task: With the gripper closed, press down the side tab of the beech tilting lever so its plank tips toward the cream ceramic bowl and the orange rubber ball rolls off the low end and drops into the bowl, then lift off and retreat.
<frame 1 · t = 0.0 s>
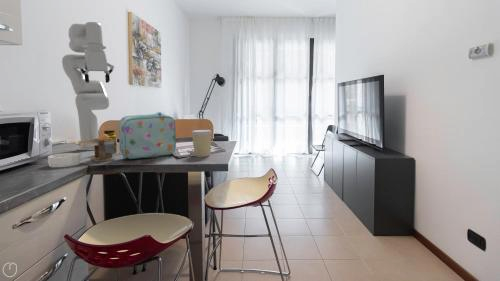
hand: (97, 82, 183), 37 cm above the worktop, tool pointing down, fingers open, 9 cm apart
lunch box: (150, 157, 175), on the worktop
coffee cup: (202, 155, 175), on the worktop
condiment: (109, 153, 190), on the worktop
ball: (105, 141, 169), point 8 cm above the worktop, touching lever
lever: (92, 145, 171), point 6 cm above the worktop, hinge at 0.0°, touching ball
bowl: (65, 164, 159), on the worktop
stand: (100, 160, 169), on the worktop
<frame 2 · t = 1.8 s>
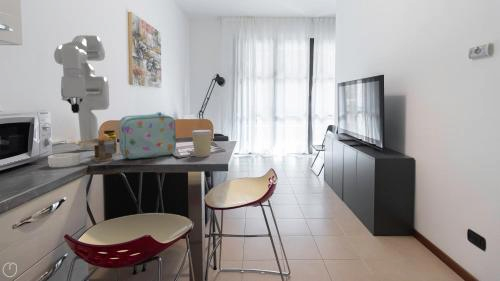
hand: (75, 112, 170), 22 cm above the worktop, tool pointing down, fingers closed
nothing on the worktop moved.
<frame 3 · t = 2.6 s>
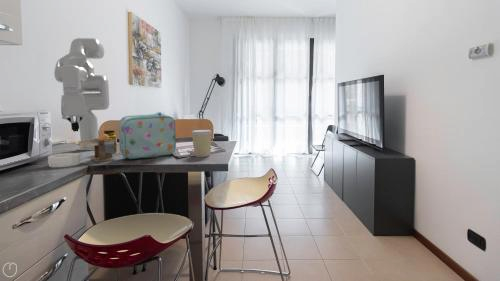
hand: (75, 131, 170), 14 cm above the worktop, tool pointing down, fingers closed
nothing on the worktop moved.
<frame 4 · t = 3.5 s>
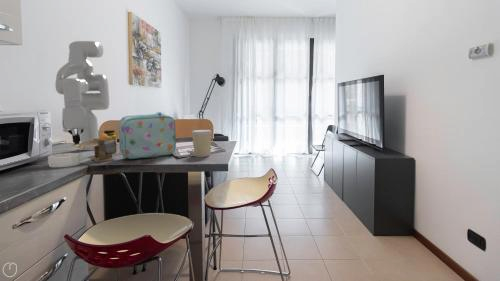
hand: (76, 143, 172), 8 cm above the worktop, tool pointing down, fingers closed
ball: (105, 140, 169), point 9 cm above the worktop, tilted 17°, touching lever
lever: (93, 146, 171), point 6 cm above the worktop, hinge at 7.8°, touching ball, gripper
everything else where it was.
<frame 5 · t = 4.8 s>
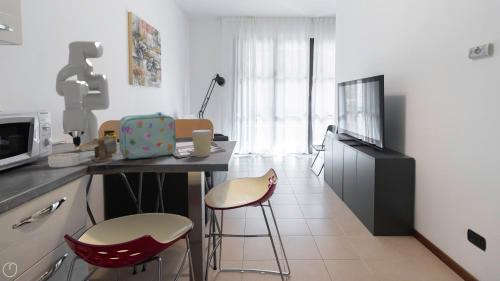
hand: (77, 145, 172), 7 cm above the worktop, tool pointing down, fingers closed
ball: (57, 164, 157), point 1 cm above the worktop, tilted 14°, touching bowl
lever: (93, 146, 171), point 6 cm above the worktop, hinge at 16.0°, touching gripper
everything else where it was.
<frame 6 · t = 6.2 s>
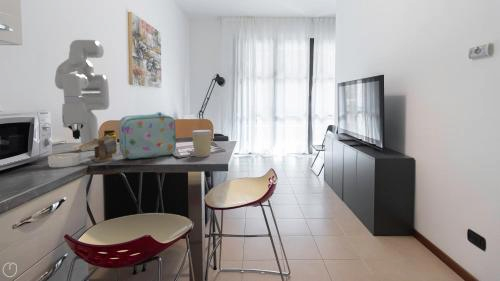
hand: (76, 138, 172), 10 cm above the worktop, tool pointing down, fingers closed
lever: (93, 146, 171), point 6 cm above the worktop, hinge at 16.0°
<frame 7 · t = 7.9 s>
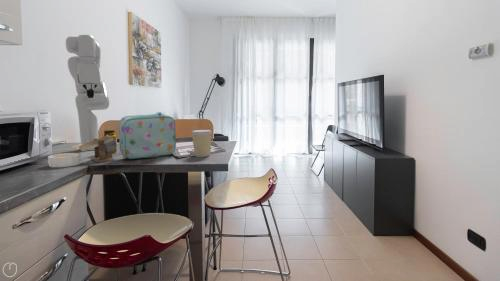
hand: (90, 97, 181), 29 cm above the worktop, tool pointing down, fingers closed
ball: (58, 163, 157), point 1 cm above the worktop, tilted 46°, touching bowl
everything else where it was.
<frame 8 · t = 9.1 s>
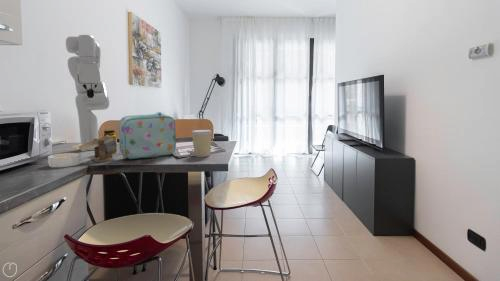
hand: (90, 97, 181), 29 cm above the worktop, tool pointing down, fingers closed
ball: (58, 161, 158), point 2 cm above the worktop, tilted 70°, touching bowl
everything else where it was.
at the end: ball inside the target area on the bowl (2.4 cm from its centre), point 1.7 cm above the bowl's base; ball touching bowl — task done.
